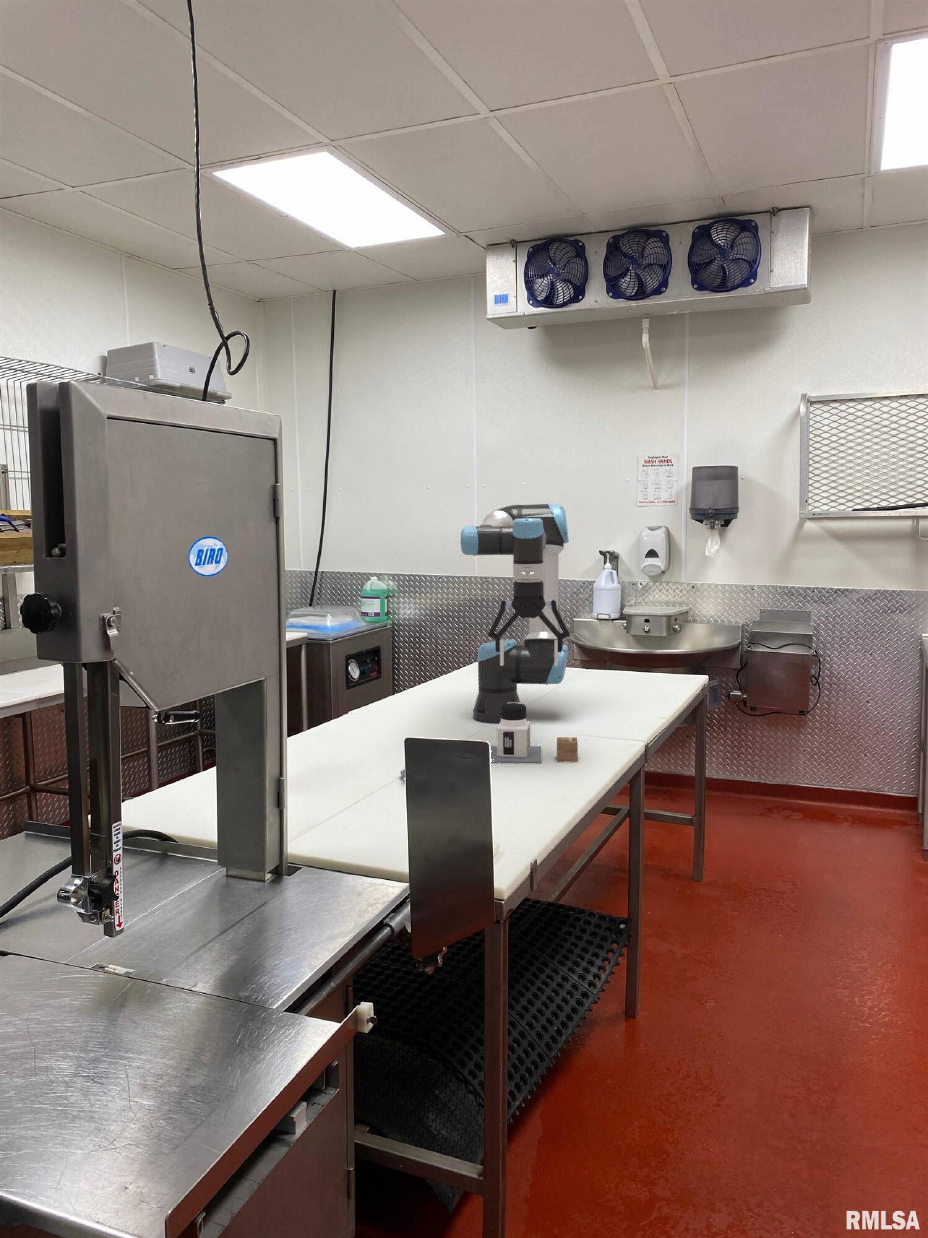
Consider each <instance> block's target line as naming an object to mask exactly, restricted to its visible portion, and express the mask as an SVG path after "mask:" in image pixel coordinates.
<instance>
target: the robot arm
mask: <svg viewBox="0 0 928 1238" xmlns="http://www.w3.org/2000/svg"><path fill="white" fill-rule="evenodd" d="M568 543H569V530H568V522H567V516H566V510H565V507H564V506H563V505H562V504H553V503H551V504H550V503H546V504H545V503H544V504H543V503H539V504H537V503H536V504H511V505H507V506H503V507H501V508H498V509H495V510H492V511H491V512H489V513H488V514H487V515H486V516H485V517H484V519H483V522H482V523H481V524H479V525H478V526H477V525H472V526H464V527H463V528H462V529H461V532H460V548H461V550H460V551H461V553H462V554H463V555H465V556H475V557H477V556H499V555H500V556H512V557H513V560H512V573H513V574H512V577H513V578H512V579H513V580H515V581H514V582H513V583H512V588H513V591H512V592H513V593H512V595H513V599H512V600H506V599H502V600H501V601H500V607H499V608H500V609H499V611H498V613H497V615H496V617H495V619H494V622H492V623H493V624H492V625H491V628H490V629H489V631H488V633H487V635H488V637H489V638H492V639H494V641H489V642H485V643H483V644H481V645H480V646H479V647H478V649H477V672H478V673H477V674H478V675H477V677H478V679H477V680H478V693H477V696H476V700H475V703H474V706H473V709H472V718H473V719H474V720H476V721H478V722H481V723H489V724H490V723H493V724H496V723H497V724H499V723H500V722H501V706H502V705H503V704H505V703H511V702H517V703H521V700H520V697H519V694H518V684H519V685H521V684H522V685H547V686H548V685H558V684H561V683H563V680H564V678H565V673H566V667H567V662H568V661H567V659H568V651H569V647H568V645H567V644H564V639H565V638H568V637H570V632H569V631H570V630H569V629H568V627H567V625H566V624H565V622H564V619H563V617H562V616H561V613H560V612H559V565H560V563H559V555H560V553H561V552H563V551H564V549H565V545H564V544H568ZM510 607H512V609H513V610H514V611H515V612H514V613H513V615H512V616H510V618H509V619H508V620H507V621H506V623H505V624H503V626H502V627H501V629H500V630H499V631H498V632H496V631H497V628H498V626H499V624H500V622H501V620H502V617H503V615H504V614H505V611H506V610H508V609H509V608H510ZM519 617H520V618H521V619H529V621H528V622H529V623H528V624H529V626H528V630H529V631H528V634H527V635H526V636H525V637H524V638H523V644H518V641H517V640H516V639H504V638H502V636H504V634H505V633H506V632H507V630H508V629H509V628H510V627H511V626H512V624H514V622H515V621H516V620H517V619H518V618H519ZM559 627H560V629H561V631H562V632H560V630H559Z"/></svg>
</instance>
